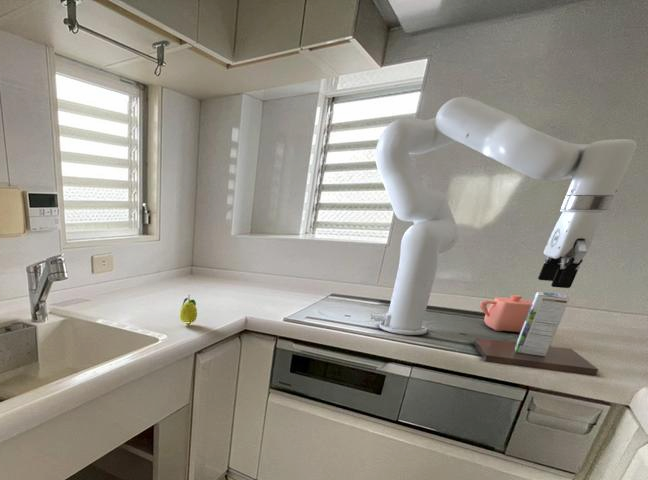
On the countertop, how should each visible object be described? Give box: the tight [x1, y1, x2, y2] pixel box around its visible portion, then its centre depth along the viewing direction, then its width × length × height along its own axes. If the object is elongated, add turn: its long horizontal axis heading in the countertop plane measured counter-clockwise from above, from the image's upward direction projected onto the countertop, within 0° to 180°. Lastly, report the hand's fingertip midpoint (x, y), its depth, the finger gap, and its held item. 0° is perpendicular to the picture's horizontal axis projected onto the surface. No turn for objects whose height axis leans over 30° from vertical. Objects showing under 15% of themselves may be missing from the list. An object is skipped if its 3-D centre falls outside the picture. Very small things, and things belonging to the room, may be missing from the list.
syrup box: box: [515, 291, 570, 356], centre depth 98 cm, size 6×6×14 cm
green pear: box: [179, 294, 198, 326], centre depth 129 cm, size 7×6×10 cm
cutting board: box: [473, 337, 599, 376], centre depth 101 cm, size 20×16×2 cm
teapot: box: [479, 294, 533, 334], centre depth 123 cm, size 12×18×10 cm, turn 66°
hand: (552, 283), depth 95 cm, fingers open, 9 cm apart
